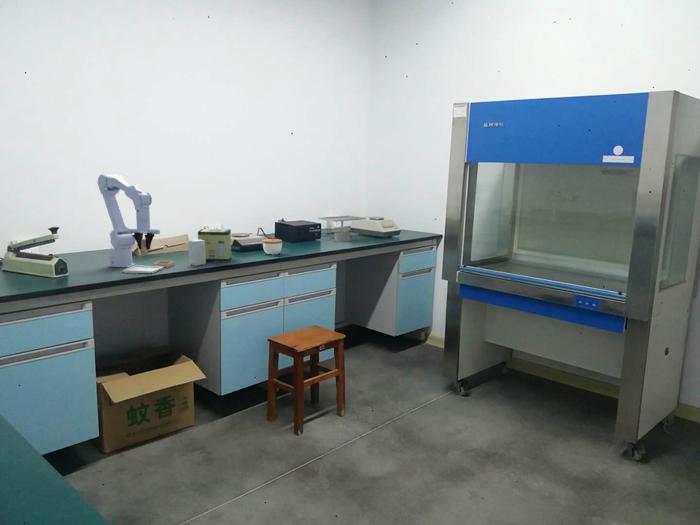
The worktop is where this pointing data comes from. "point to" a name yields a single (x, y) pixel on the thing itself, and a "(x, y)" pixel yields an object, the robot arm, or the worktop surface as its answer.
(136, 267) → the tray
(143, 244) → the dowel pin
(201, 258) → the skincare box
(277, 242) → the lidded jar
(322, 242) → the worktop surface
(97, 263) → the worktop surface
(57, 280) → the worktop surface
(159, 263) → the pin cup
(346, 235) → the solar panel model
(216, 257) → the protein box
